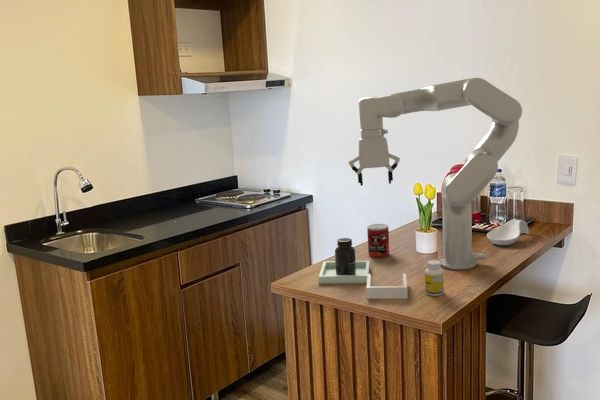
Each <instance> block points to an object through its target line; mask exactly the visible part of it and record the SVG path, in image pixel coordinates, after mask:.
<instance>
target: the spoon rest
mask: <svg viewBox="0 0 600 400" xmlns="http://www.w3.org/2000/svg"><path fill="white" fill-rule="evenodd" d="M523 233H525V234H524V235H529V234H530V228H529V226H528V223H527V221H526V220H523V219H517V218H513V219H511V220H509V221H507V222H506V223H503V224H502V225H500V226H499V227H496V228H494V229H492V230H491V231H489V232H487V234H486V237H487V239H488V240H489V241H490V242H491V243H492V244H495V245H497V246H502V247H503V246H512V245H513V244H514V243H516V242H517V241H518V240H519V238H520V237H521V234H523Z"/></svg>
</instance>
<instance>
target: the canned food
mask: <svg viewBox="0 0 600 400" xmlns="http://www.w3.org/2000/svg"><path fill="white" fill-rule="evenodd" d="M366 230H367V250H368V252H367V253H368V256H369V257H371V258H376V259H379V258H385V257H388V256H389V254H390V237H389V236H390V235H389V234H390V233H389V225H388V224H386V223H372V224H369V225H367V229H366Z"/></svg>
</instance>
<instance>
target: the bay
mask: <svg viewBox="0 0 600 400" xmlns="http://www.w3.org/2000/svg"><path fill="white" fill-rule="evenodd" d="M365 287H366V299H367V300H373V299H374V300H375V299H376V300H377V299H379V300H381V299H382V300H383V299H385V300H387V299H388V300H389V299H392V300H393V299H395V300H396V299H397V300H398V299H400V300H401V299H406V300H407V299H408V298H409V296H408V280H407V273H404V272H403V273H402V285H398V286H397V285H393V286H392V285H386V286H384V285H383V286H382V285H380V286H375V285H374V286H372V274H371V273H369V274H368V277H367V283H366V286H365Z"/></svg>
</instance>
